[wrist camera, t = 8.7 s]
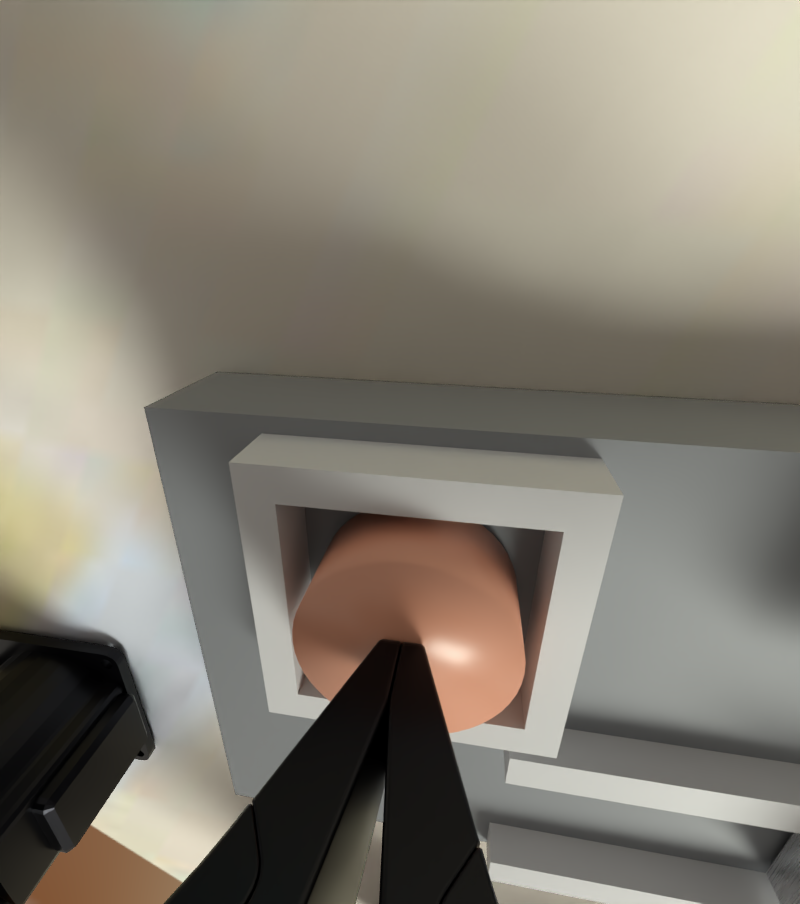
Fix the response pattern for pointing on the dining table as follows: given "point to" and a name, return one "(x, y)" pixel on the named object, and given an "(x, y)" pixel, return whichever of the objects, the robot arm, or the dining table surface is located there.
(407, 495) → the switch panel
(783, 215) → the dining table surface
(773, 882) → the slider knob
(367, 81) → the dining table surface
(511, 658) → the push button
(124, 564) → the dining table surface
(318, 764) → the robot arm
